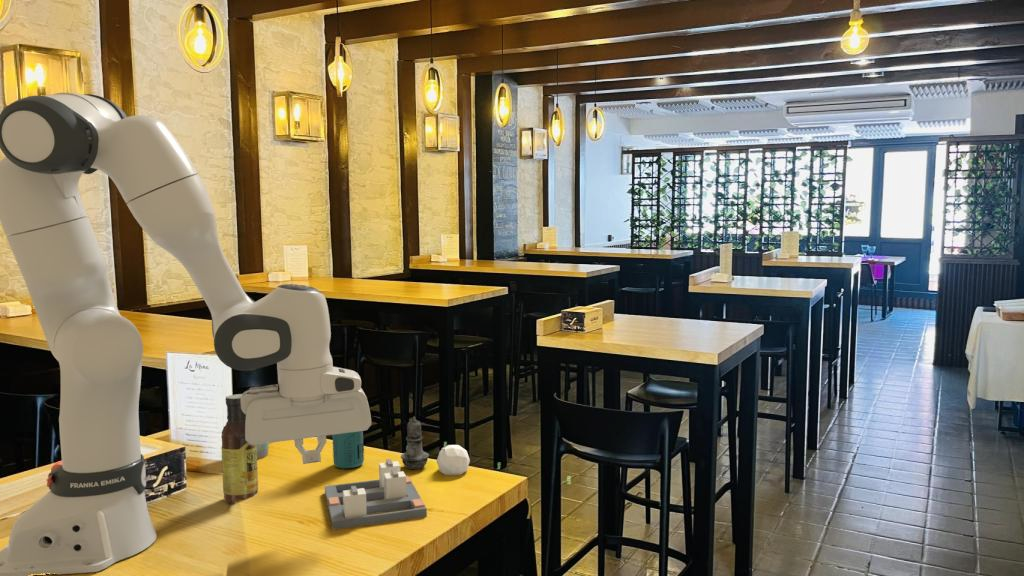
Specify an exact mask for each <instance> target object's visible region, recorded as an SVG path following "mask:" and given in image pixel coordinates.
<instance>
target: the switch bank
mask: <svg viewBox="0 0 1024 576" xmlns="http://www.w3.org/2000/svg"><path fill="white" fill-rule="evenodd" d="M351 486H356V488H357V489H360V488H364V490H365V492H366V509H367V516H360V517H352V518H345V519H344V512H343V491H344V490H351ZM406 493H407V497H400V498H393V499H385V497H384V487H383V488H380V481H379V479H371V480H364V481H355V482H349V483H348V482H347V483H340V484H331V485H324V498H325V500H326V505H327V510H328V514H329V520H330V523H331V529H332V530H333V531H334V530H342V529H347V528H355V527H362V526H368V525H370V526H371V525H376V524H383V523H389V522H397V521H398V522H399V521H405V520H411V519H419V518H425V517H428V514H427V513H428V511H427V507H426V505H425V503H424V501H423V500H422V498H421V495H420V494H419V492H418V490H417V489H416V486H415V485H414V483H413V482H412V480H411V478H410V477H409V475H406Z"/></svg>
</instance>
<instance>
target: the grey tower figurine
mask: <svg viewBox="0 0 1024 576" xmlns="http://www.w3.org/2000/svg"><path fill="white" fill-rule="evenodd" d="M406 426H407V436H406V437H405V440H406V443H407V444H406V445H407V447H406V452H404V453H402V454H401V455H400V458H401V461H402V464H403V465H404V466H405V467H406V468H407V469H408V470H409V469H410V470H418V469H422V468H424V467H425V466H426V464H427V462H428V458H429V456H430V454H429V453H428V452H426V451H424V450H423V439H424V436H423V435H422V423H421V421H420V420H417V419H416V416H415V415H413V417H412V420H410V421H409V422H407V425H406Z"/></svg>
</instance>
